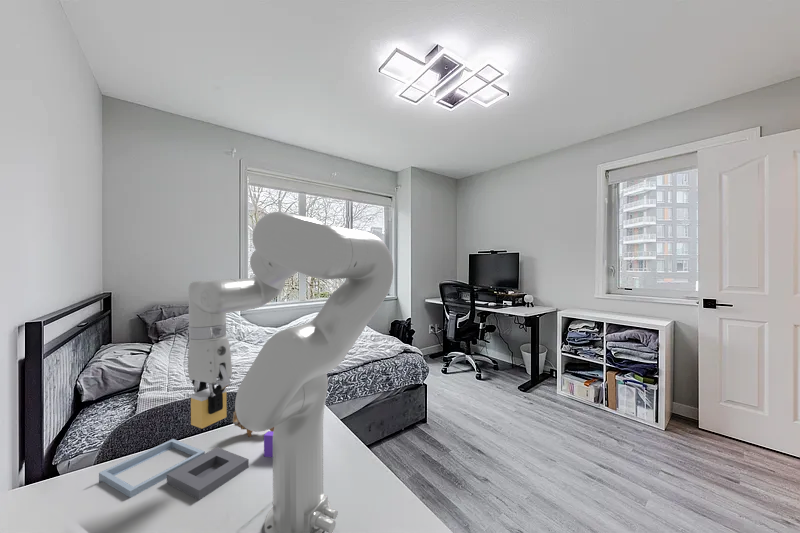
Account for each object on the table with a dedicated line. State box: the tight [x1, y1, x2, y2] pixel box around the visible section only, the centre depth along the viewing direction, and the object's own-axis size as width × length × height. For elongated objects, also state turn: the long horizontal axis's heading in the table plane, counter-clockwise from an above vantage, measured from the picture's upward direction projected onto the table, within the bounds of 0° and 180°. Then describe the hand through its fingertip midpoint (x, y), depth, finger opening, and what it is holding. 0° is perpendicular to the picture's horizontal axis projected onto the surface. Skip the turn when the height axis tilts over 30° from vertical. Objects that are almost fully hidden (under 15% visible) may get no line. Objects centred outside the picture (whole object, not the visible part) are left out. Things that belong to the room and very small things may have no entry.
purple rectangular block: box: [263, 430, 273, 458], centre depth 88 cm, size 12×7×7 cm, turn 173°
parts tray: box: [98, 438, 206, 499], centre depth 78 cm, size 14×16×2 cm
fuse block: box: [166, 446, 250, 501], centre depth 75 cm, size 12×12×3 cm
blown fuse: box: [190, 385, 228, 429], centre depth 75 cm, size 4×6×7 cm, turn 154°
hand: (209, 408), depth 75 cm, fingers closed on blown fuse, 4 cm apart
